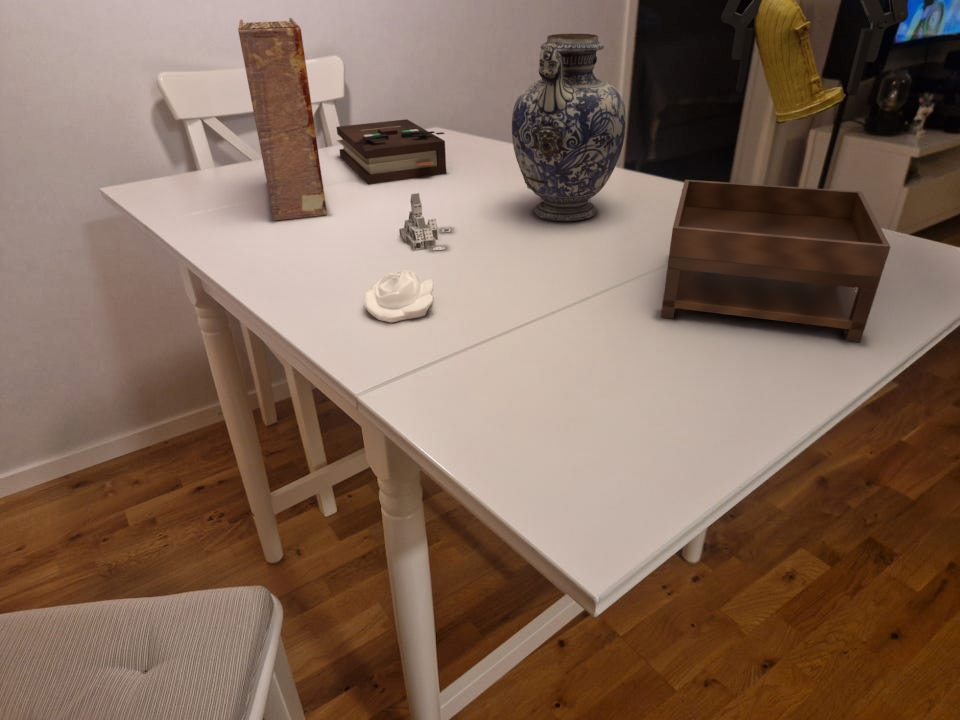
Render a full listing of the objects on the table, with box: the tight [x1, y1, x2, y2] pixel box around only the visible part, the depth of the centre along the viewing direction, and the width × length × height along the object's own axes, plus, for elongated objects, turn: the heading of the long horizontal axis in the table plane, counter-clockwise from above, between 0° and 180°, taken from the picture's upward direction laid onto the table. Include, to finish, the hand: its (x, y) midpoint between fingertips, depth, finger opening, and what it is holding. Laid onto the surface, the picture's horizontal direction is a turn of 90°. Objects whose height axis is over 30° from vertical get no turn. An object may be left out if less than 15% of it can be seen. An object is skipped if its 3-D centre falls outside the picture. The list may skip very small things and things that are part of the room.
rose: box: [363, 269, 434, 323], centre depth 84 cm, size 10×4×10 cm
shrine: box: [753, 0, 847, 125], centre depth 74 cm, size 12×8×15 cm
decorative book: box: [336, 118, 447, 185], centre depth 144 cm, size 19×8×30 cm
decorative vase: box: [511, 33, 627, 223], centre depth 108 cm, size 21×19×28 cm
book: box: [237, 17, 328, 222], centre depth 118 cm, size 25×9×30 cm, turn 17°
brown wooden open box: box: [660, 179, 891, 343], centre depth 82 cm, size 22×20×12 cm
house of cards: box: [398, 192, 451, 251], centre depth 103 cm, size 9×9×8 cm
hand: (794, 91), depth 76 cm, fingers closed on shrine, 11 cm apart
